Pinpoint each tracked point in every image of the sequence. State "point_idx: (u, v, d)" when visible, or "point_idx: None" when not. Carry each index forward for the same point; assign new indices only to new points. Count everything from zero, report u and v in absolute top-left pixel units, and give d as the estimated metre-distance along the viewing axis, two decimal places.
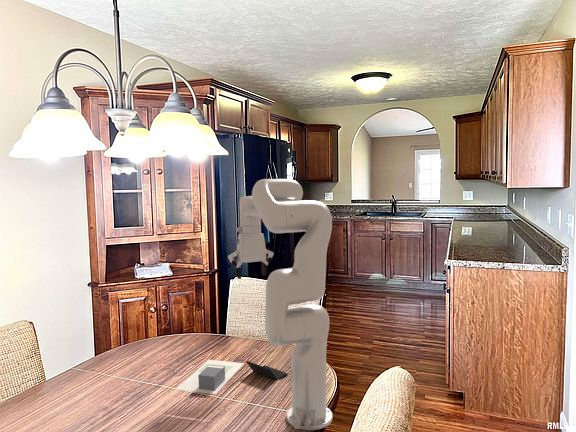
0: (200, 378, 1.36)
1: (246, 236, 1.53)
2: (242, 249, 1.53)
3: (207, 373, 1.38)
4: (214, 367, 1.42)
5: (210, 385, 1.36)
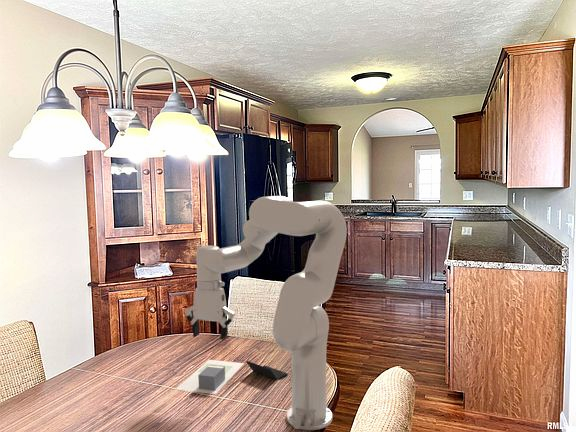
0: (200, 378, 1.36)
1: None
2: None
3: (207, 373, 1.38)
4: (214, 367, 1.42)
5: (210, 385, 1.36)
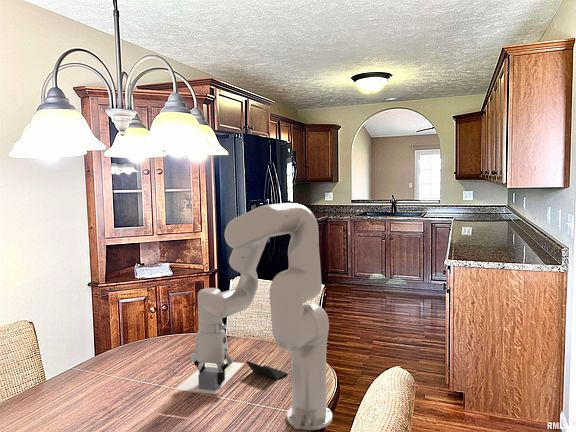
0: (200, 378, 1.36)
1: None
2: None
3: (207, 373, 1.38)
4: (214, 367, 1.42)
5: (210, 385, 1.36)
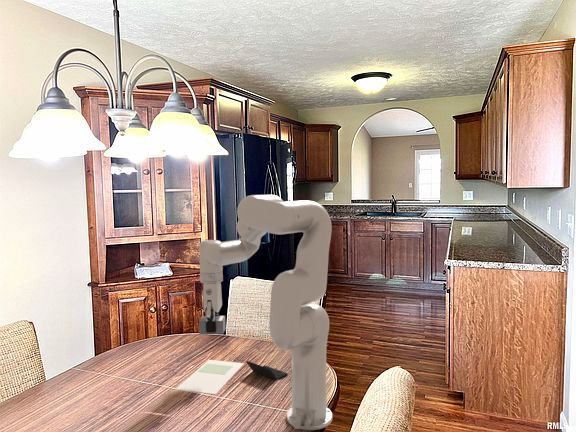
0: None
1: (217, 283, 1.43)
2: (217, 298, 1.42)
3: (205, 318, 1.47)
4: (220, 318, 1.47)
5: None
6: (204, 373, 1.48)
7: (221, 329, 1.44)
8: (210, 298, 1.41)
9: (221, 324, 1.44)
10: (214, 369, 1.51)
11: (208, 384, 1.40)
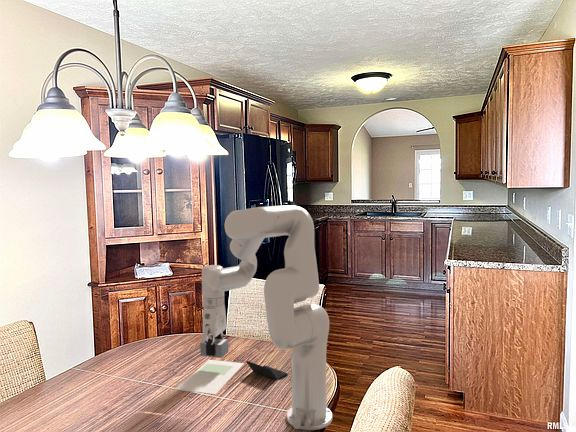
0: None
1: (217, 308, 1.47)
2: (215, 323, 1.46)
3: None
4: (221, 341, 1.51)
5: None
6: (204, 373, 1.48)
7: (220, 353, 1.48)
8: (208, 322, 1.46)
9: (220, 348, 1.48)
10: (214, 369, 1.51)
11: (208, 384, 1.40)
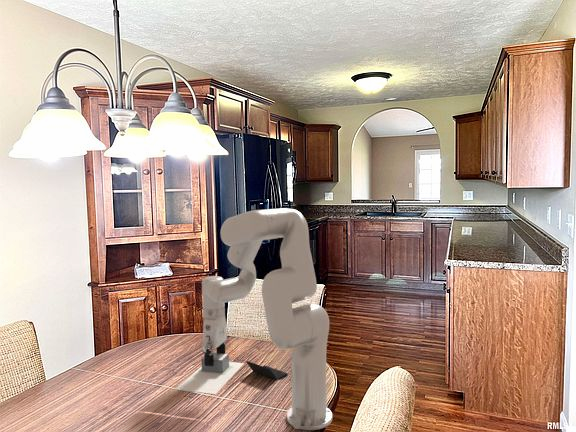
0: None
1: (217, 320, 1.47)
2: (216, 334, 1.46)
3: None
4: (222, 356, 1.51)
5: None
6: (204, 373, 1.48)
7: (221, 368, 1.48)
8: (209, 334, 1.46)
9: (221, 363, 1.48)
10: None
11: (208, 384, 1.40)
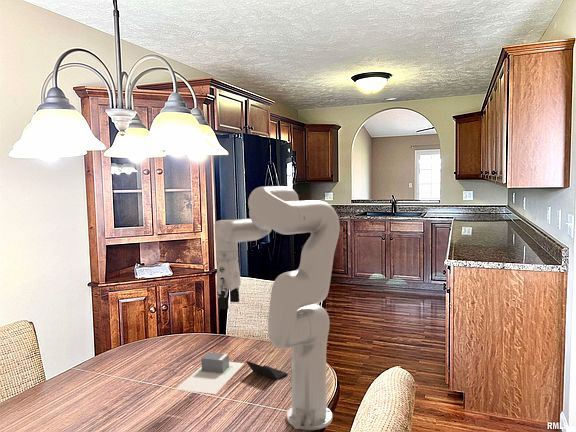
0: None
1: (231, 262, 1.45)
2: (230, 276, 1.44)
3: (209, 355, 1.52)
4: (222, 356, 1.51)
5: None
6: (204, 373, 1.48)
7: (221, 368, 1.48)
8: (223, 276, 1.43)
9: (221, 363, 1.48)
10: None
11: (208, 384, 1.40)
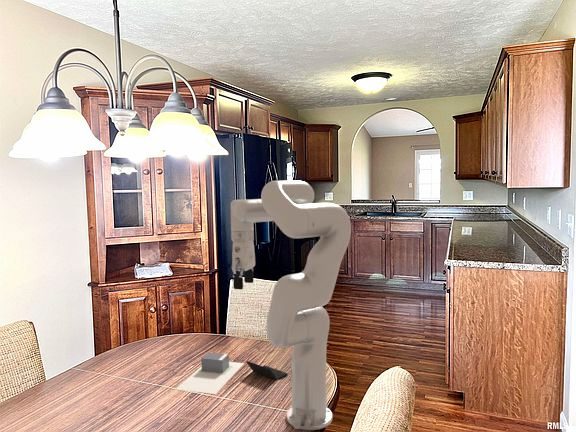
0: None
1: (247, 242, 1.44)
2: (245, 256, 1.42)
3: (209, 355, 1.52)
4: (222, 356, 1.51)
5: None
6: (204, 373, 1.48)
7: (221, 368, 1.48)
8: (238, 256, 1.42)
9: (221, 363, 1.48)
10: None
11: (208, 384, 1.40)
